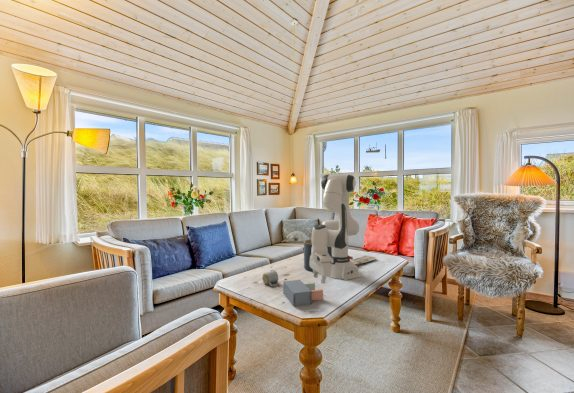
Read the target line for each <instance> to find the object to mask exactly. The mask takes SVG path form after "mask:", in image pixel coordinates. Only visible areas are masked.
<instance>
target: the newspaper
mask: <svg viewBox="0 0 574 393" xmlns="http://www.w3.org/2000/svg"><path fill="white" fill-rule="evenodd" d="M374 260H377V258H376V257H375V256H371V255H364V256H361V257H358V258H357V257H356V258H355V259H354V258H353V260H351V259H350V261H351V262H352V263H354V264H355V265H356V266H357V267H358V266H360V265H362V264H366V263H369V262H372V261H374Z"/></svg>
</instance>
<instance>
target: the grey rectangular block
mask: <svg viewBox="0 0 574 393" xmlns="http://www.w3.org/2000/svg"><path fill="white" fill-rule="evenodd" d="M304 283H305V282H304V281H301V279H294V280H293V279H292V280H284V281H283V295H284V296H285V298H287V300H288V301H289V303H290V304H291V305H292V306H293V307H300V306H307V305H312V301H311V297H312V294H313V292H312V291H311V290H310V289H309V288H308V287H307V286H306V285H305V284H304Z"/></svg>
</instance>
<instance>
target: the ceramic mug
mask: <svg viewBox="0 0 574 393" xmlns="http://www.w3.org/2000/svg"><path fill="white" fill-rule="evenodd" d="M261 279H262V281H263V284H265V285H270V286H271V287H275V288H276V287H277V286H278V285H279V274H278V272H277V271H276V270H271V271H267V272H265V273H263V274H262V278H261Z"/></svg>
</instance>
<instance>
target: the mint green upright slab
mask: <svg viewBox="0 0 574 393" xmlns="http://www.w3.org/2000/svg"><path fill="white" fill-rule="evenodd" d="M303 283H304V284H305V285H306V286H307V287H308V288H309V289H310V290H316V283H315V282H306V283H305V282H303Z"/></svg>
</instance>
